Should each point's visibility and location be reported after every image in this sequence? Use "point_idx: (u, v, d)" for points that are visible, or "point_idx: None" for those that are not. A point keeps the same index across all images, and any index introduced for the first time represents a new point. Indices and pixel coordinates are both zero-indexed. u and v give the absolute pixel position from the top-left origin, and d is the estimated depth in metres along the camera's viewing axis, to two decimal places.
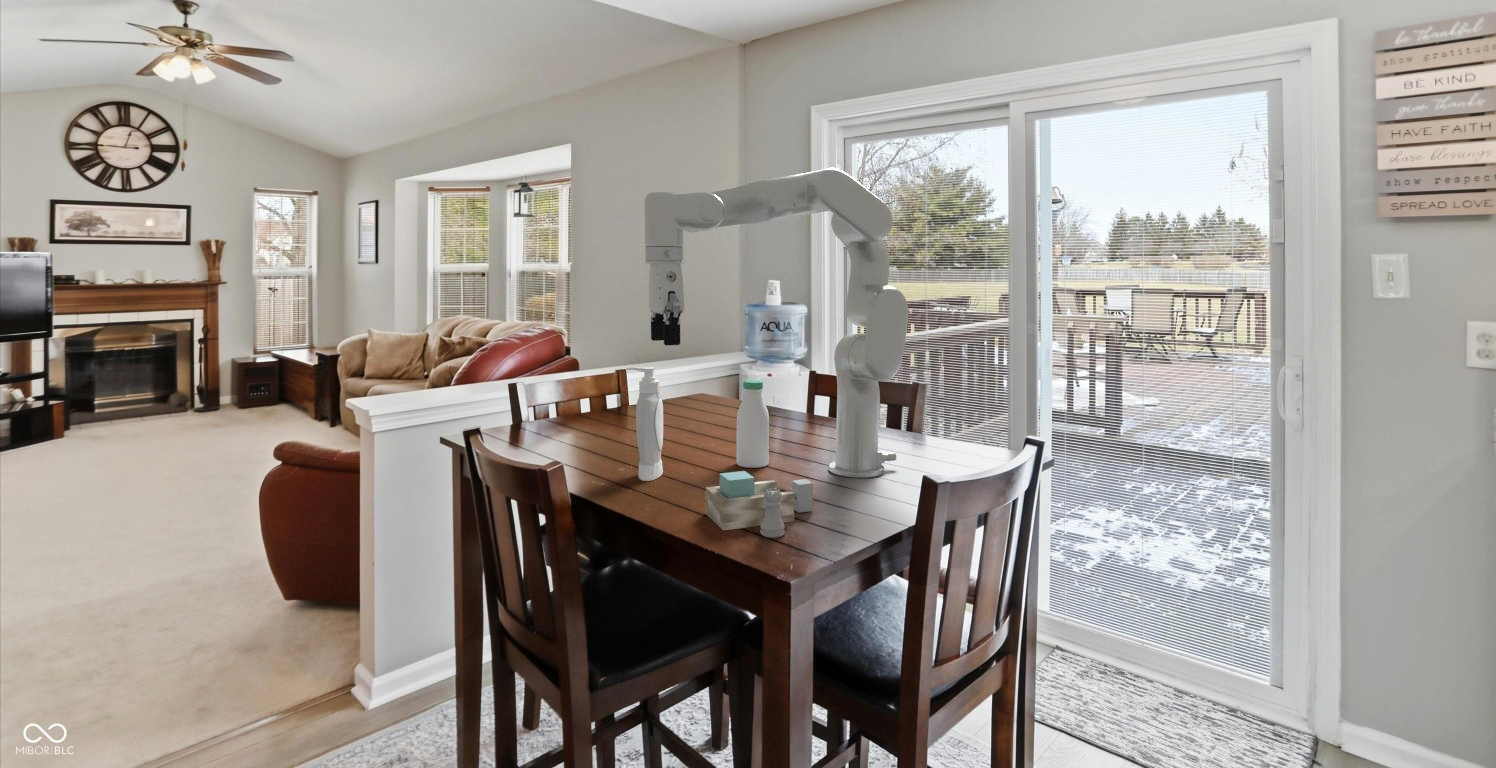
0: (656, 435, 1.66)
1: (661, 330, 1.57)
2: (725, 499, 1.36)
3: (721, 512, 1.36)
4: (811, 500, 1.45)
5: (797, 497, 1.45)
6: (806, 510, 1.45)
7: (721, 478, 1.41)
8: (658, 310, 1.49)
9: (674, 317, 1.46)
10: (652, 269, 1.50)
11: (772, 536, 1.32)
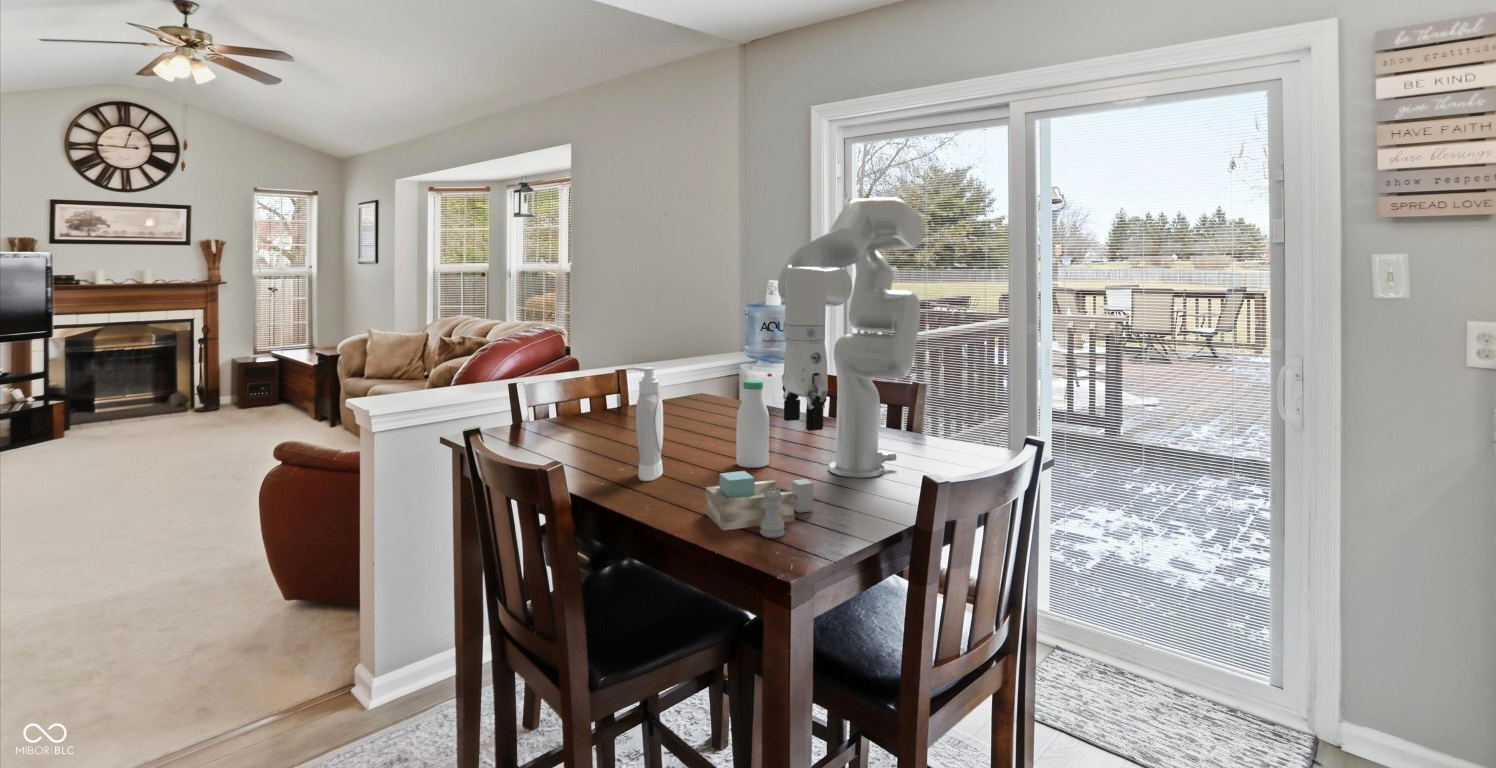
0: (656, 435, 1.66)
1: (795, 410, 1.48)
2: (725, 499, 1.36)
3: (721, 512, 1.36)
4: (811, 500, 1.45)
5: (797, 497, 1.45)
6: (806, 510, 1.45)
7: (721, 478, 1.41)
8: (799, 392, 1.40)
9: (820, 402, 1.36)
10: (792, 348, 1.40)
11: (772, 536, 1.32)
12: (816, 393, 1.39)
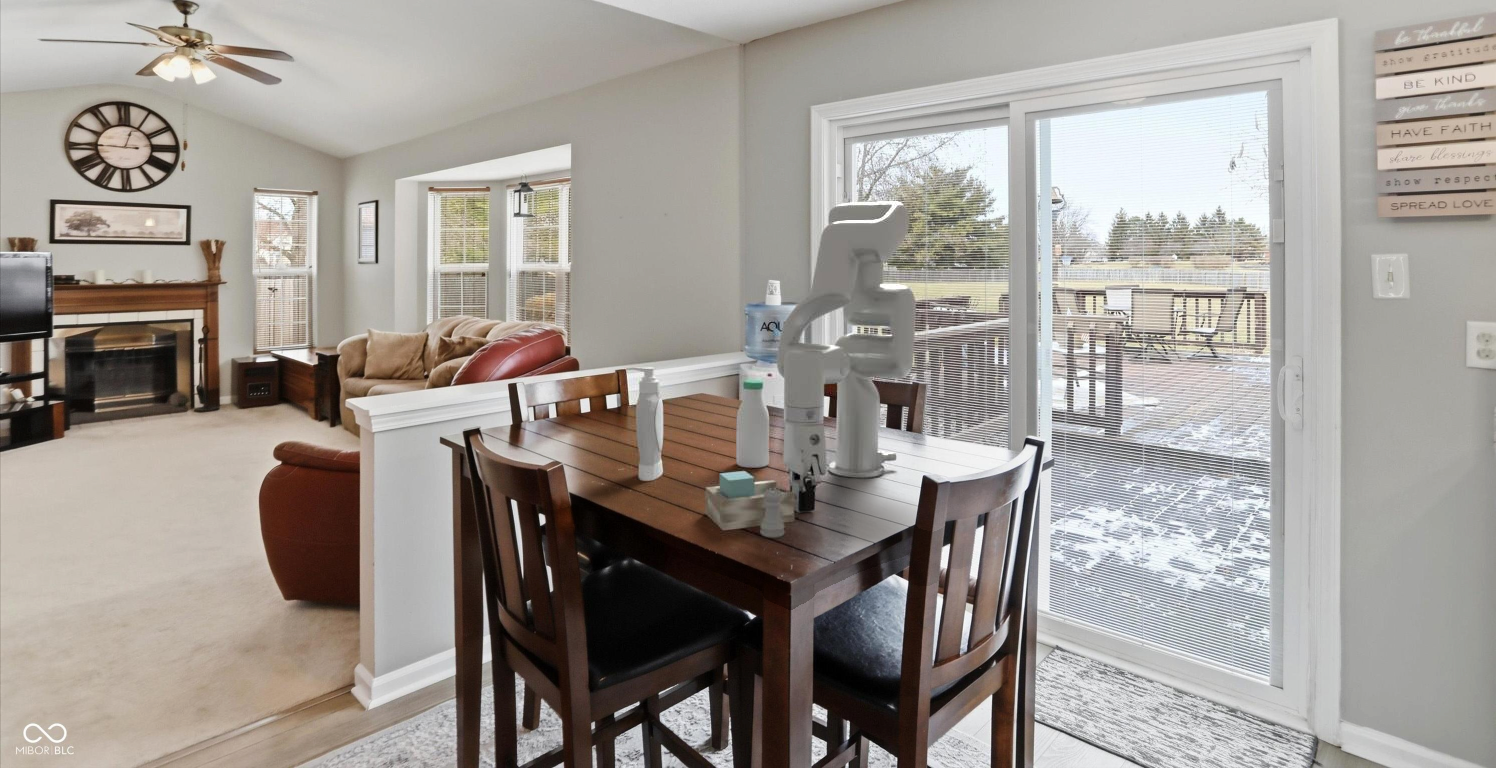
0: (656, 435, 1.66)
1: None
2: (725, 499, 1.36)
3: (721, 512, 1.36)
4: None
5: (797, 497, 1.45)
6: None
7: (721, 478, 1.41)
8: (799, 472, 1.42)
9: None
10: (792, 428, 1.43)
11: (772, 536, 1.32)
12: (811, 476, 1.43)
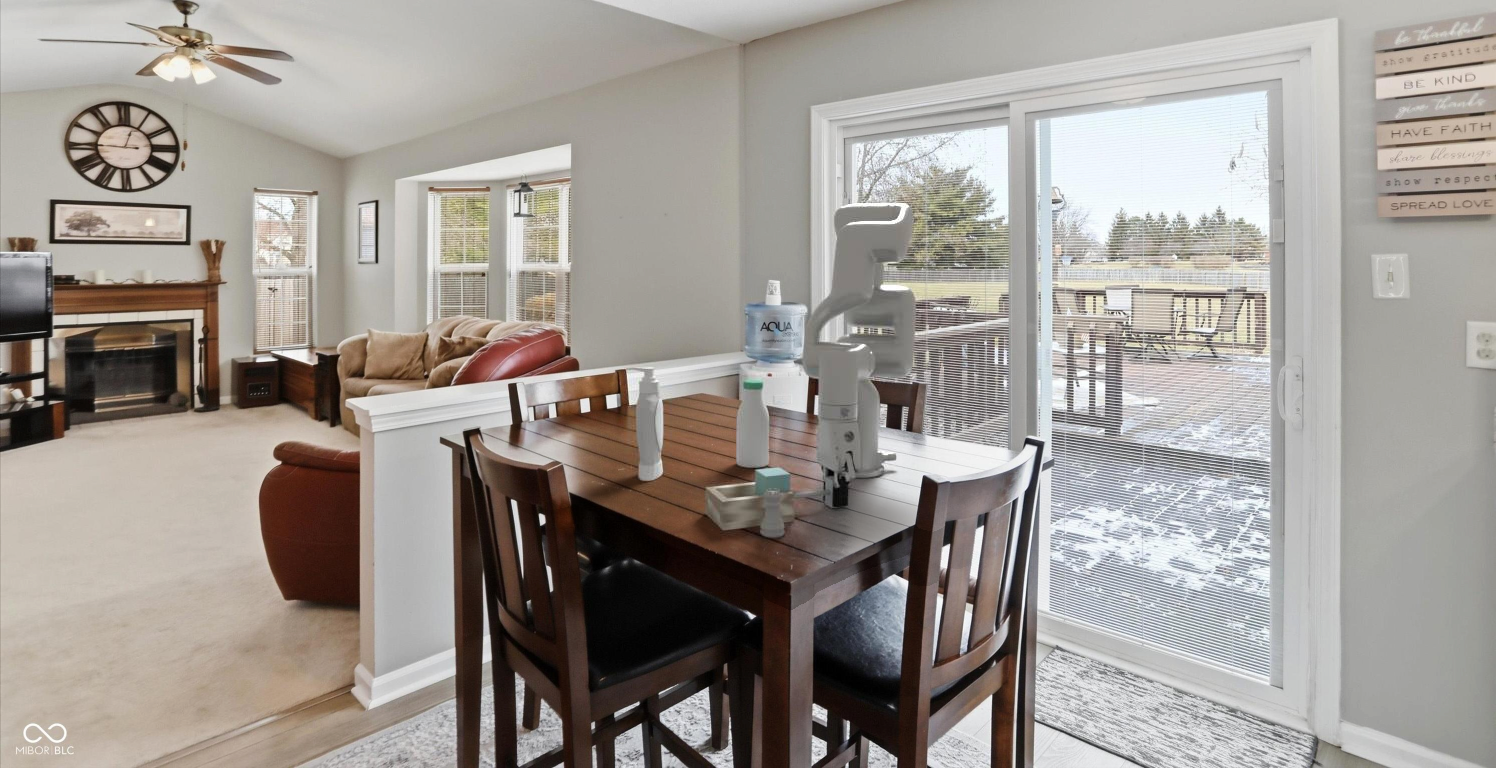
0: (656, 435, 1.66)
1: None
2: (725, 499, 1.36)
3: (721, 512, 1.36)
4: None
5: (831, 493, 1.47)
6: None
7: (757, 474, 1.44)
8: (833, 468, 1.45)
9: None
10: (826, 425, 1.46)
11: (772, 536, 1.32)
12: (845, 473, 1.46)
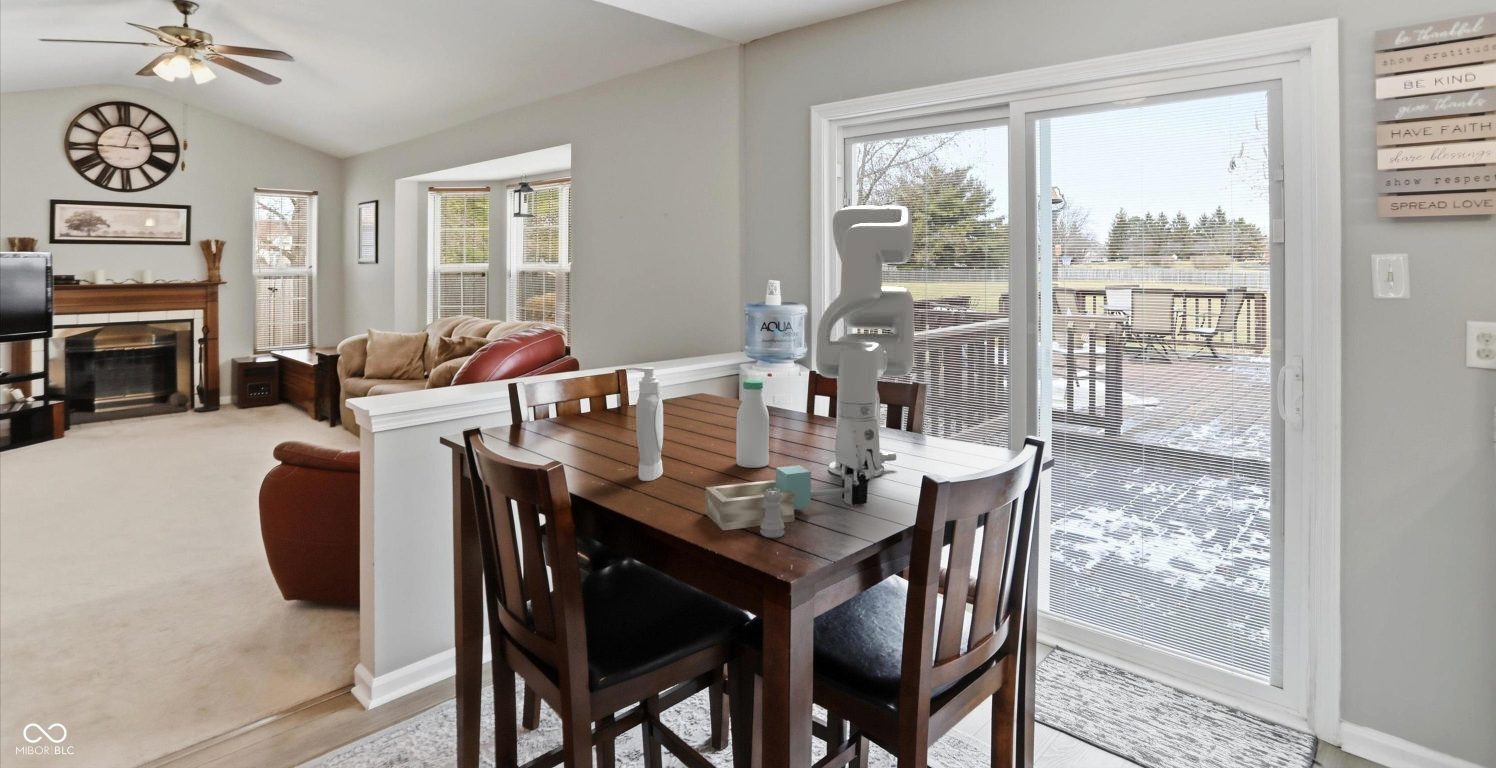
0: (656, 435, 1.66)
1: None
2: (725, 499, 1.36)
3: (721, 512, 1.36)
4: None
5: (850, 491, 1.49)
6: None
7: (778, 472, 1.45)
8: (853, 466, 1.46)
9: None
10: (845, 424, 1.47)
11: (772, 536, 1.32)
12: (864, 470, 1.47)
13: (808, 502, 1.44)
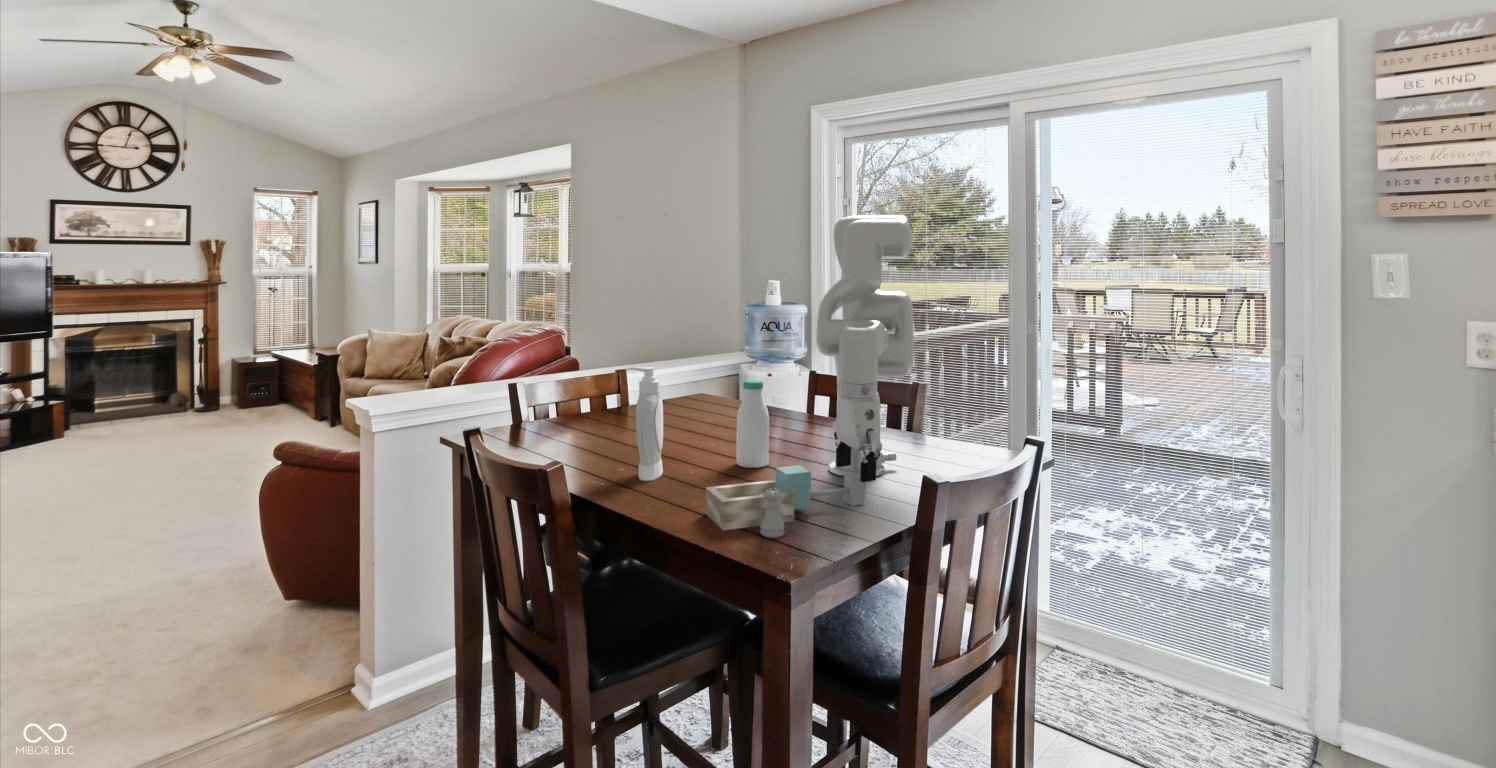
0: (656, 435, 1.66)
1: (846, 456, 1.55)
2: (725, 499, 1.36)
3: (721, 512, 1.36)
4: (863, 494, 1.50)
5: (850, 491, 1.49)
6: (859, 503, 1.50)
7: (778, 472, 1.45)
8: (853, 446, 1.47)
9: (874, 457, 1.44)
10: (846, 403, 1.47)
11: (772, 536, 1.32)
12: (869, 447, 1.46)
13: (808, 502, 1.44)
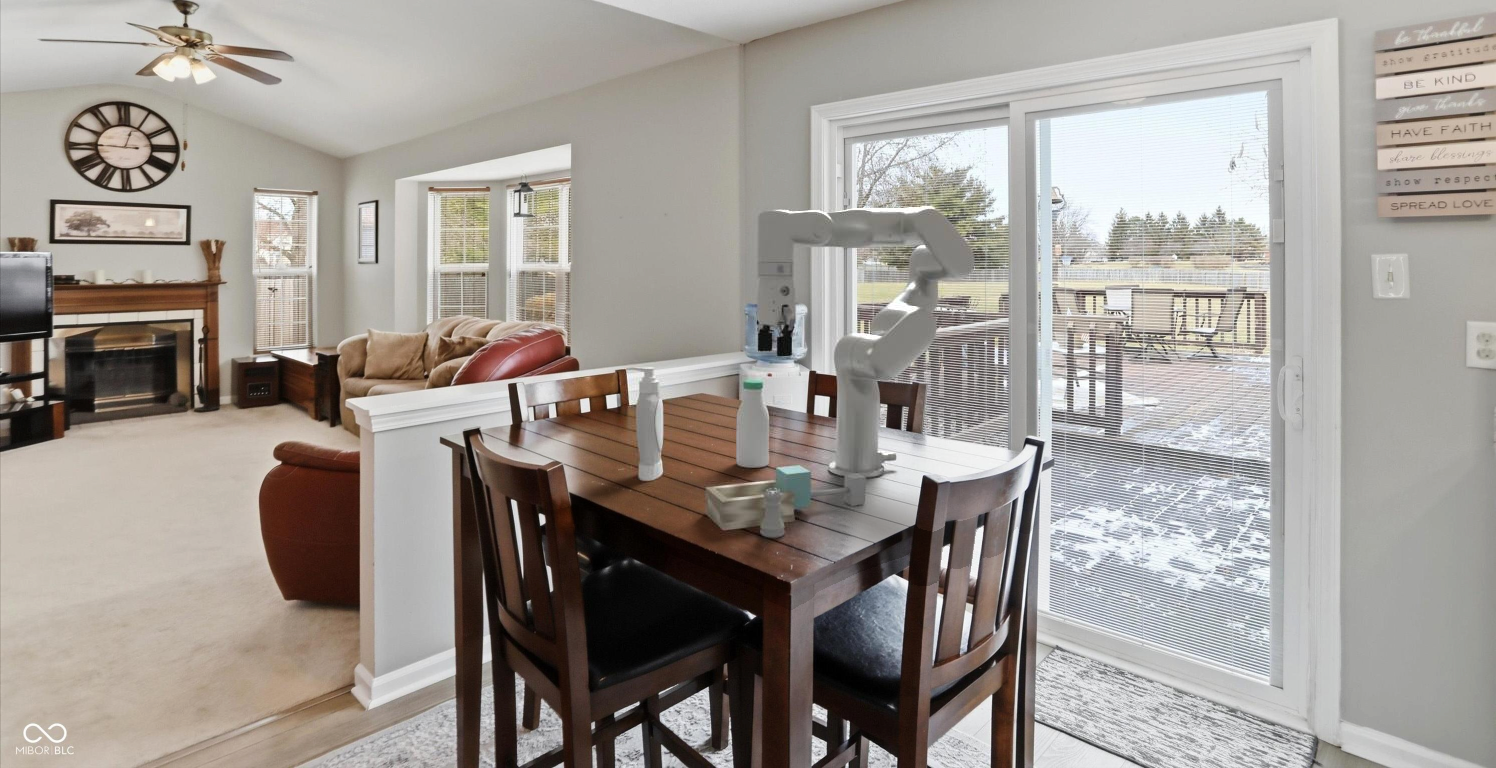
0: (656, 435, 1.66)
1: (767, 341, 1.64)
2: (725, 499, 1.36)
3: (721, 512, 1.36)
4: (863, 494, 1.50)
5: (850, 491, 1.49)
6: (859, 503, 1.50)
7: (778, 472, 1.45)
8: (771, 323, 1.56)
9: (789, 329, 1.53)
10: (764, 283, 1.57)
11: (772, 536, 1.32)
12: (785, 323, 1.55)
13: (808, 502, 1.44)
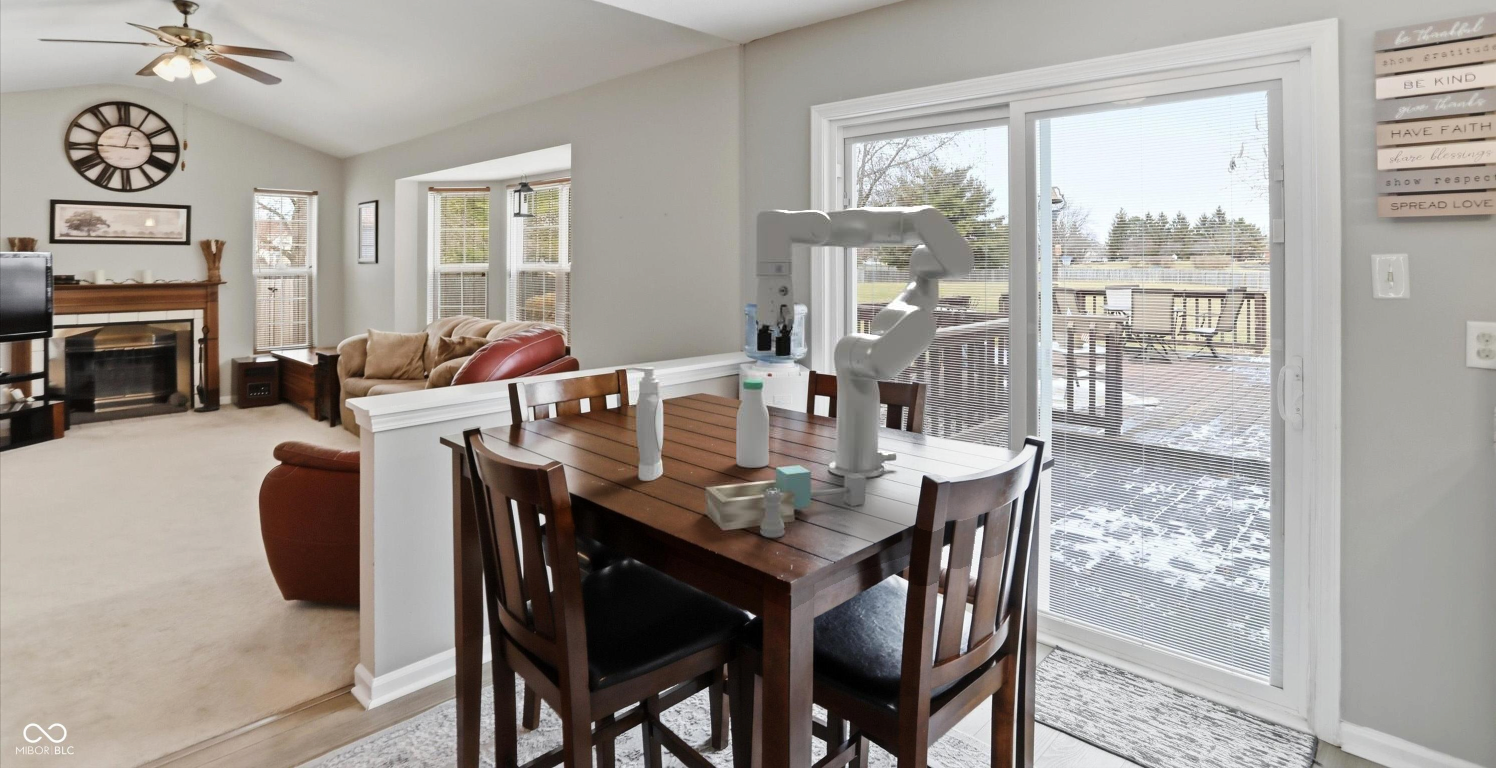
0: (656, 435, 1.66)
1: (767, 341, 1.64)
2: (725, 499, 1.36)
3: (721, 512, 1.36)
4: (863, 494, 1.50)
5: (850, 491, 1.49)
6: (859, 503, 1.50)
7: (778, 472, 1.45)
8: (769, 322, 1.56)
9: (787, 329, 1.53)
10: (763, 283, 1.57)
11: (772, 536, 1.32)
12: (784, 323, 1.55)
13: (808, 502, 1.44)
